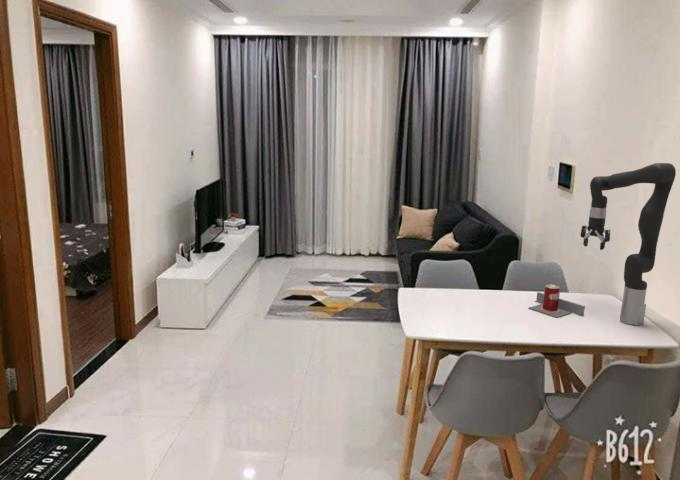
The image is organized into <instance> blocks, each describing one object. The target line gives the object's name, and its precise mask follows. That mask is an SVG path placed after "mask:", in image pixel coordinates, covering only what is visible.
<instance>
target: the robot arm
mask: <svg viewBox="0 0 680 480" xmlns="http://www.w3.org/2000/svg"><path fill="white" fill-rule="evenodd" d="M676 171H677V170H676V167H675V166H674V164H672V163H668V162H656V163H652V164H648V165H646V166H644V167H641V168H637V169H635V170H630V171H622V172H618V173H613V174H611V175H605V176H604V175H602V176H598V175H597V176H594V177H593V178H592V179H591V180H590V184H589V190H590V195H591V202H590V203H591V204H590V210H589V216H588V225H582V226H581V230H580V237H581V238H583V242H582V243H583V247H588V246H589V245H588V244H589V238H590V237H596V238H598V239H599V240H600V246H599V250H600V251H602V250H604V249H605V246H606V243H608V242H610V241H611V229H605V226H606V219H607V218H606V217H607V207H608V206H607V205H608V197H607V196H606V195H603V191H610V190H614V189H621V188H627V187H631V186H633V185H638V184H653V185H654V188H653V192H652V194H651V196H649V198H648V199H647V201H646V203H645V204H644V205H643V206H642V208H641V210H640V215H639V219H638V223H637V225H638V233H639V234H640V238H641V243H640V244H641V245H640V247H639V248H640V249H639V251H638V253H632V254H628V256H627V257H626V259H625V262H624V269H623V271H624V272H623V281H624V287H623V288H624V289H623V295H622V301H621V308H620V309H621V310H620V316H619V321H620V322H621V323H623V324H625V325H626V324H627V325H631V326H635V327H639V326H641V325H643V324H644V322H645V315H646V307H647V304H646V303H645V302H646V296H647V295H646V294H647V289H648V282H647V281H645V280H643V274H646V273H649V272H651V271H652V270H653V268H654V266H655V261H656V253H657V245H658V242H659V236H660V233H661V232H660V231H661V228H662V224H663V220H664V216H665V210H666V208H667V207H666V206H667V202H668V199H669V196H670V192H671V190H672V187H673V185H674V182H675V179H676V174H677V173H676Z"/></svg>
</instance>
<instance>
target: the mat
mask: <svg viewBox="0 0 680 480" xmlns="http://www.w3.org/2000/svg"><path fill="white" fill-rule="evenodd" d="M542 305H543V304H542V303H540V304H537V305H534V306H530V307H528V310H531V311H534V312H537V313H540V314H543V315H545V316H548V317H549V316H550V317H552V318H555V319H560V318H563V317H566V316H568V315H571V314H572V313H571V312H568V311H565V310H562V309H559V308H558V310H557V311H555V312H549V311H545V310H544V309H543V308H542Z"/></svg>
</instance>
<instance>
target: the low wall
mask: <svg viewBox="0 0 680 480" xmlns="http://www.w3.org/2000/svg"><path fill="white" fill-rule="evenodd" d="M543 296H544V292H543V293H542V292H540V291H537V292H536V300H535V302H536V303H540V304H543ZM558 308H559V309H562V310H565V311H568V312H571V314H573V315H574V314H575V315H577V316H580V317H584V315H585V308H586V306H585V305H584V304H583V305H582V304H581V303H576V302H573V301H570V300H566V299H562V298H560V297H559V304H558Z"/></svg>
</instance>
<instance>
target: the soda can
mask: <svg viewBox="0 0 680 480" xmlns="http://www.w3.org/2000/svg"><path fill="white" fill-rule="evenodd" d="M543 293H544V296H543V305H542V308H543V309H544V310H545V311H549V312H555V311H557V310H558V304H559V298H560V294H561V287H560V286H558V285H556V284H546V285H544V290H543Z"/></svg>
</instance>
